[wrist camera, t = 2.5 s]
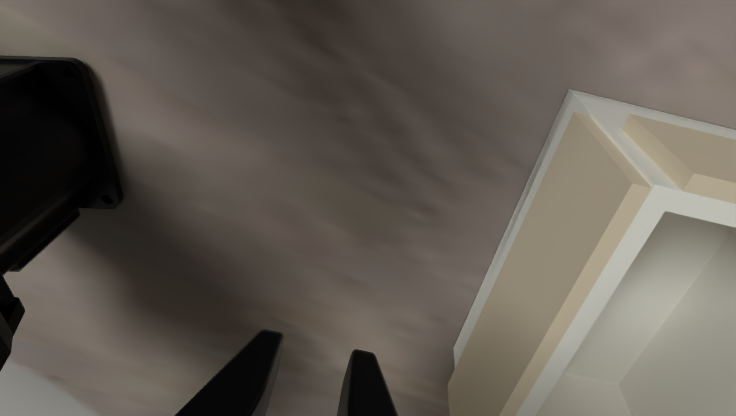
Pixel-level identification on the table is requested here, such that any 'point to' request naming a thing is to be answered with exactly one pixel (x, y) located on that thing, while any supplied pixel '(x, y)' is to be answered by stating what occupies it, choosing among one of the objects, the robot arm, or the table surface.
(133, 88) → the table surface
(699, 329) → the storage box
